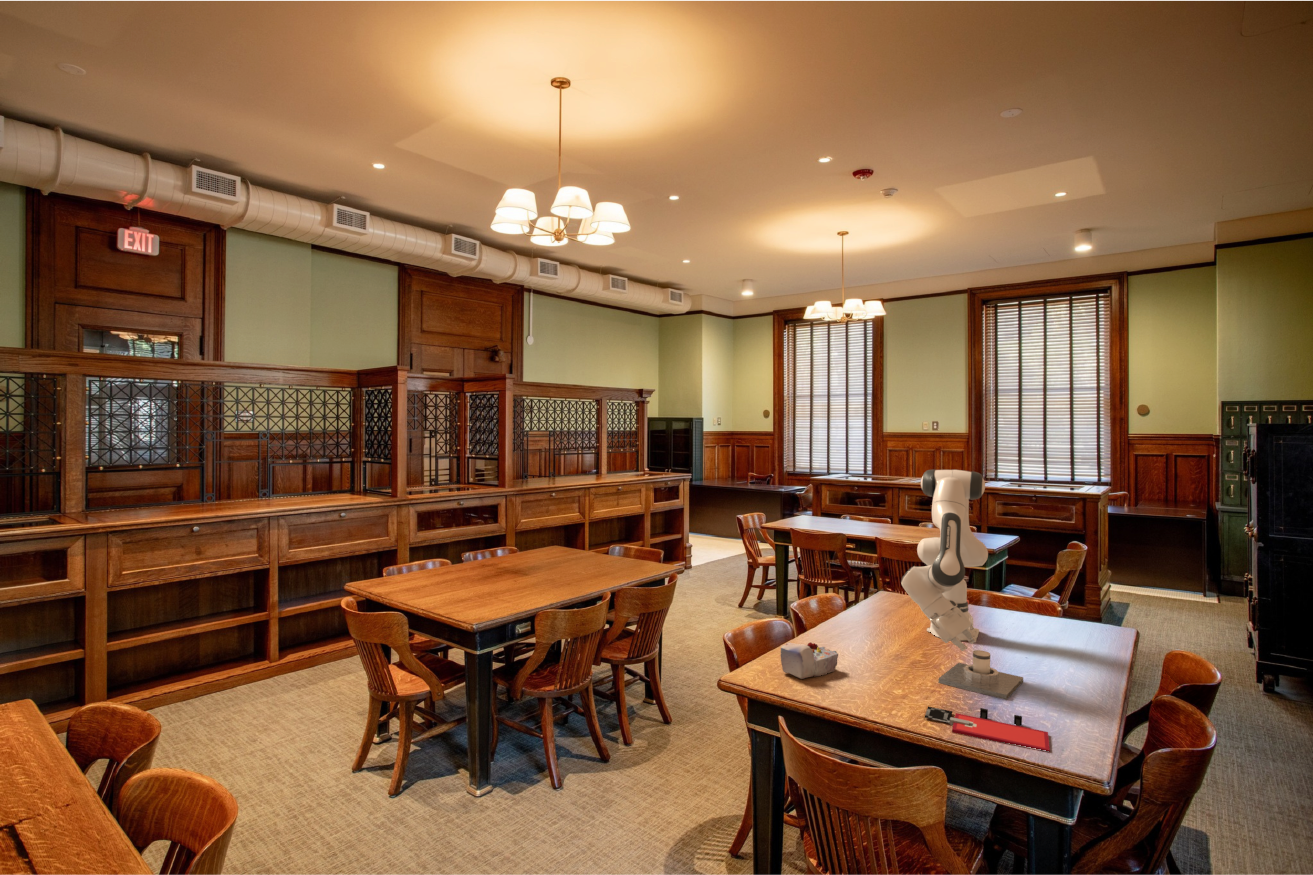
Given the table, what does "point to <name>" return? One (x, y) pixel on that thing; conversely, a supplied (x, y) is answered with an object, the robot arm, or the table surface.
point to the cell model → (807, 660)
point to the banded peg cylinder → (981, 662)
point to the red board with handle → (992, 728)
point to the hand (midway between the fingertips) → (969, 646)
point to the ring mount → (981, 681)
